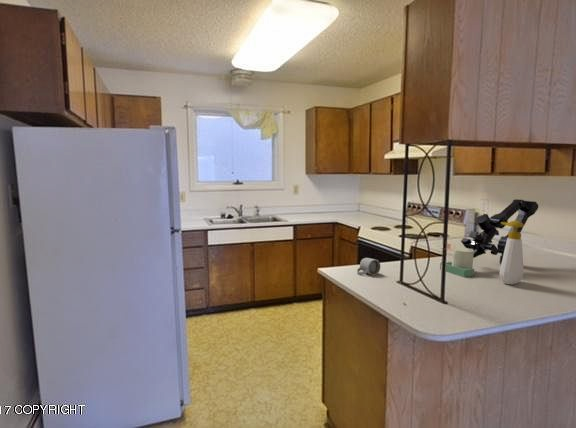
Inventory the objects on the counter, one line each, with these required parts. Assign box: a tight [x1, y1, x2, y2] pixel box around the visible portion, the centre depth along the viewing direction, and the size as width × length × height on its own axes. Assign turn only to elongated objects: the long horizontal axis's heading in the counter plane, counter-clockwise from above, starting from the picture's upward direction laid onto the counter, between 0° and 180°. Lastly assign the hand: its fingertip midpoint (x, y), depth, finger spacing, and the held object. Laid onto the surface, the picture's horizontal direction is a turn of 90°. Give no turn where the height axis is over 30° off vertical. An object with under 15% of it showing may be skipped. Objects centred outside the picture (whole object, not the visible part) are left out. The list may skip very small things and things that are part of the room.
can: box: [452, 247, 474, 269], centre depth 180 cm, size 9×9×12 cm
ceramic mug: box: [356, 257, 381, 276], centre depth 176 cm, size 11×8×8 cm
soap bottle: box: [499, 220, 525, 286], centre depth 162 cm, size 13×10×29 cm
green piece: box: [439, 243, 475, 278], centre depth 178 cm, size 6×15×14 cm, turn 22°
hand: (469, 258), depth 182 cm, fingers closed
